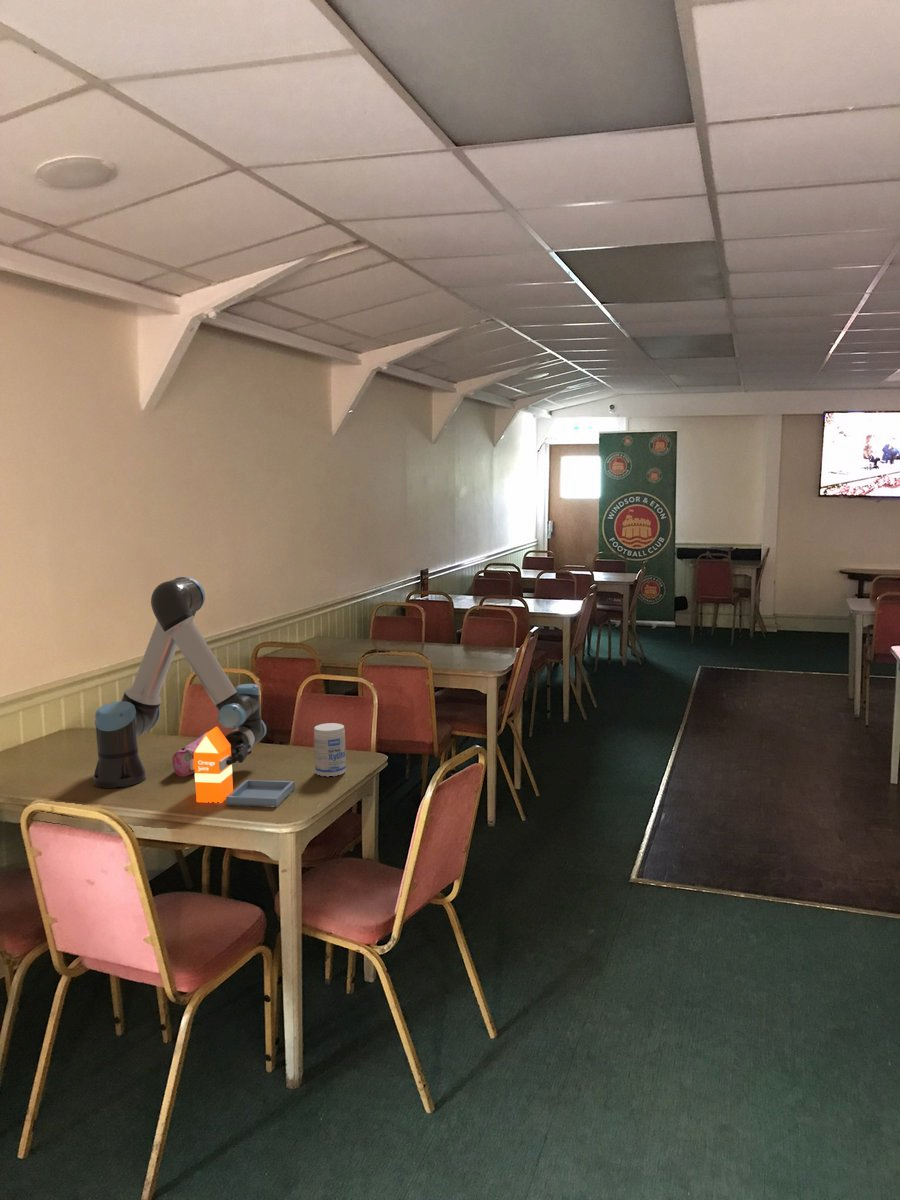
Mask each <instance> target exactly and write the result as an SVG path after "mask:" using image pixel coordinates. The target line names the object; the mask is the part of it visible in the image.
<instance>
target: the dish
mask: <svg viewBox="0 0 900 1200" xmlns="http://www.w3.org/2000/svg"><path fill="white" fill-rule="evenodd" d="M294 789H295V790H296V781H295V780H294V781H293V780H272V779H271V780H268V779H267V780H266V779H246V780H244V781H242V783H241V784H239V786H237V787H236V788H235V789H233V791H232V792H231V793H230V794H229V795H228V796H226V799H225V804H226V805H225V806H227V805H236V806H235V807H251V806H270V807H269V808H272V807H271V806H274V807H273V808H275V807H277V806H278V805H279V804H280V803H281V802H282V801H283V800H284V799H285V798H286V797H287V796H288V795H289V794H290V793H291V792H292V791H293V790H294ZM295 790H294V791H295ZM294 791H293V792H294ZM293 792H292V793H293ZM292 793H291V794H292ZM291 794H290V795H291ZM290 795H289V796H290ZM289 796H288V797H289ZM288 797H287V798H288ZM287 798H286V799H287ZM286 799H285V800H286ZM285 800H284V801H285ZM284 801H283V802H284ZM283 802H282V803H283ZM282 803H281V804H282ZM281 804H280V805H281ZM280 805H279V806H280ZM279 806H278V807H279ZM278 807H277V808H278Z"/></svg>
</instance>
